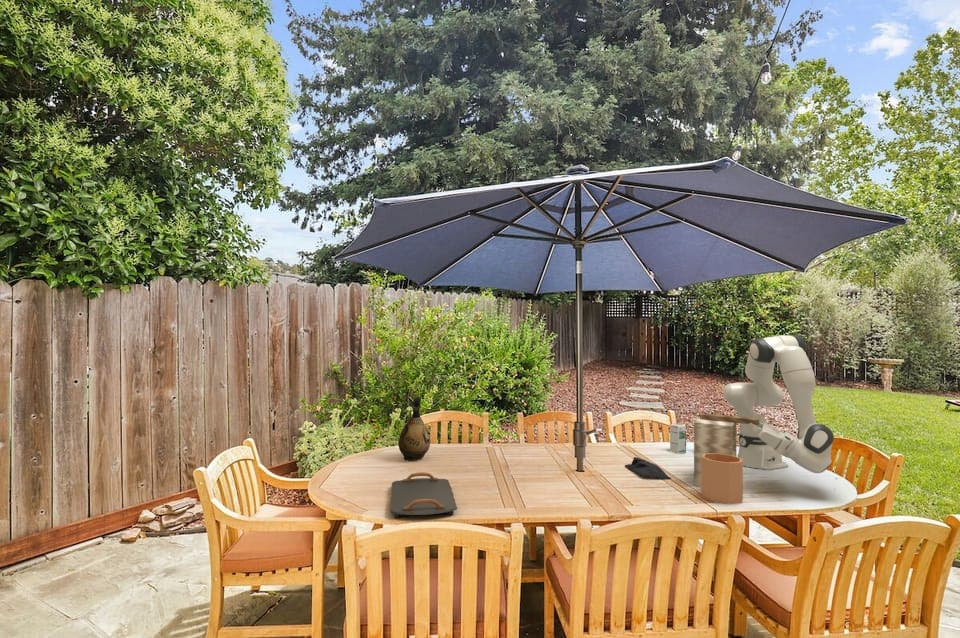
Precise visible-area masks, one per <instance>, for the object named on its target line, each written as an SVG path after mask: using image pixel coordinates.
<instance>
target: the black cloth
mask: <svg viewBox="0 0 960 638" xmlns="http://www.w3.org/2000/svg"><path fill="white" fill-rule="evenodd" d="M624 466H625V468H627V469H628V470H630V471H631V472H634V473H635V474H636V475H638V476H639V477H641V478H644V479H657V480H665V479H667V480H672V477H670V476H668V475H667V474H666V472H665V471H664V470H663V469H662V468H661V467H660V466H658V465H657V464H655V463H653V462H649V461H648V460H646V459H642V458H640V457H637V456H634V457H633V460H632V461H631V463H628V464H625V465H624Z"/></svg>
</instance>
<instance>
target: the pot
mask: <svg viewBox="0 0 960 638" xmlns="http://www.w3.org/2000/svg"><path fill="white" fill-rule="evenodd" d="M700 495H701V497H703V498H704V499H707V500H709V501H710V502H716V503H721V504H728V505H730V504H731V505H732V504H742V503H743V500H744V466H743V459H742V458H739V457H738V456H737V455H736V456H733V455H728V454H720V453H706V454H703V455H702V456H701V487H700Z"/></svg>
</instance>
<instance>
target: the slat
mask: <svg viewBox="0 0 960 638" xmlns="http://www.w3.org/2000/svg"><path fill="white" fill-rule="evenodd" d="M699 417H700V419H702V420H712V421H722V422H732V423H737V424H740V423H742V424H749V423H753V424H755V425H759V419H758V418H747V417H739V416H734V415H723V414H715V413H714V414H713V413H704V412H703V413H700V414H699Z"/></svg>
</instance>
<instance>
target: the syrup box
mask: <svg viewBox="0 0 960 638" xmlns="http://www.w3.org/2000/svg"><path fill="white" fill-rule="evenodd" d="M669 448H670V449H669V452H670V451H671V453H673V452H674V453H673V454H677V453H678V455H679V453H681V454H685V453H687V426H686V425H685V424H683V423H673V424H672V423H671V424H669Z"/></svg>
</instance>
